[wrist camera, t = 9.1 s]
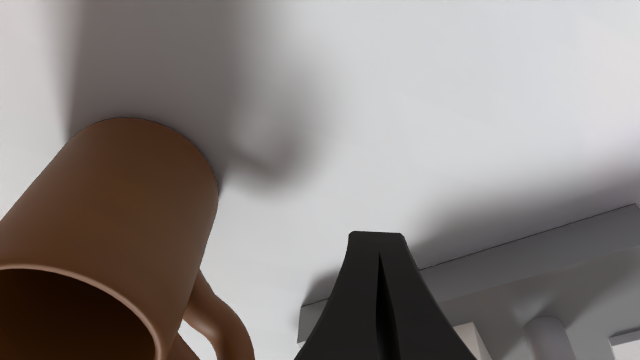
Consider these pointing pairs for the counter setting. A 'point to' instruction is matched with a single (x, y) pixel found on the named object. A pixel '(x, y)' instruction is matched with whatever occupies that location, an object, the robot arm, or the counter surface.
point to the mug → (114, 252)
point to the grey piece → (544, 292)
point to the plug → (472, 340)
